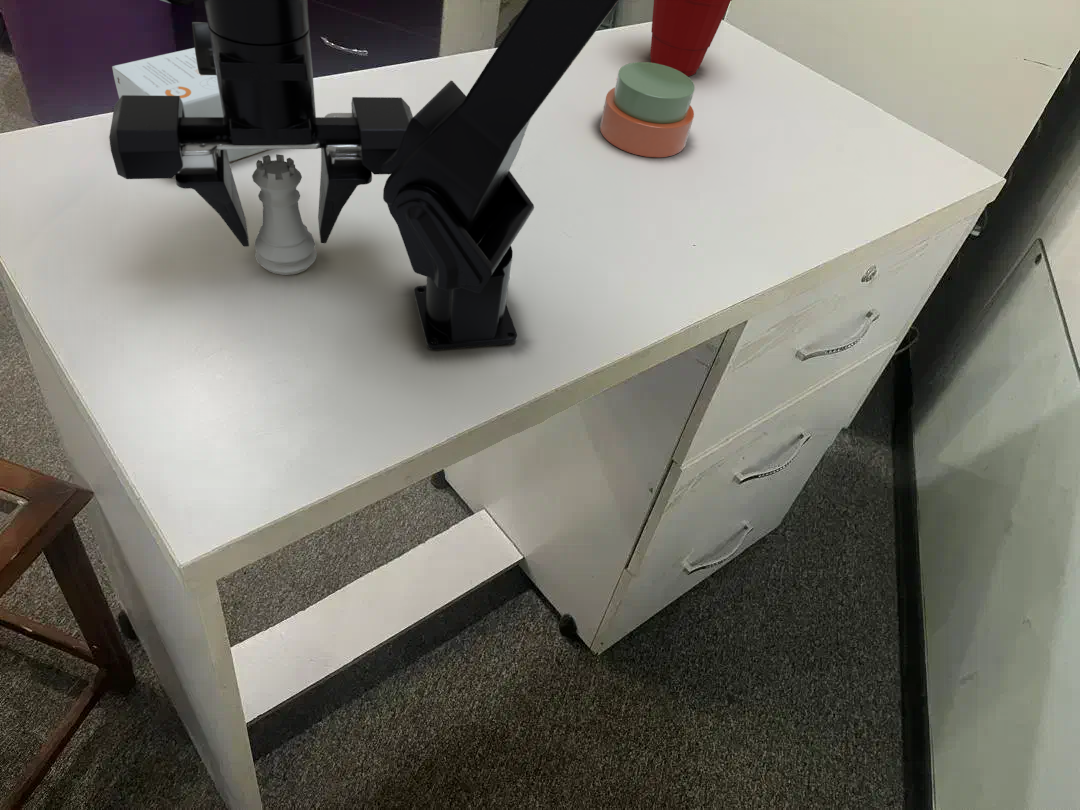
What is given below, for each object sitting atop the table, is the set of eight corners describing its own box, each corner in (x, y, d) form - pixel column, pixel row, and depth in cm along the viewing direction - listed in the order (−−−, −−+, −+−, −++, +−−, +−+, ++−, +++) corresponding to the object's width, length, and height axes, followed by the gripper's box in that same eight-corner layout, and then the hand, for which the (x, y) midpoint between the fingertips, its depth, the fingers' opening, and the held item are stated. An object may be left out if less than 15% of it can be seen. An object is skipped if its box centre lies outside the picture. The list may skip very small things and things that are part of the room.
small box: (260, 100, 74) (127, 137, 67) (253, 32, 70) (108, 63, 62) (313, 137, 71) (179, 180, 64) (308, 69, 66) (164, 107, 59)
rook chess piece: (303, 283, 57) (293, 188, 51) (245, 269, 57) (228, 172, 52) (326, 249, 60) (320, 155, 54) (271, 236, 60) (258, 141, 55)
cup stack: (699, 157, 79) (716, 102, 74) (616, 158, 76) (629, 101, 72) (666, 112, 84) (681, 59, 80) (588, 112, 82) (599, 57, 77)
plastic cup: (715, 54, 97) (747, -52, 88) (720, 93, 89) (756, -19, 81) (629, 38, 96) (653, -70, 88) (628, 76, 89) (653, -38, 80)
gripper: (397, -21, 54) (396, 179, 65) (97, -36, 49) (152, 184, 60) (424, 51, 47) (417, 261, 58) (77, 43, 42) (144, 274, 53)
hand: (285, 241), depth 58 cm, fingers open, 5 cm apart
